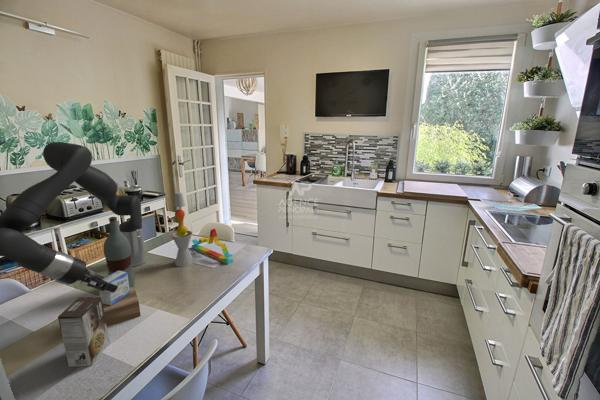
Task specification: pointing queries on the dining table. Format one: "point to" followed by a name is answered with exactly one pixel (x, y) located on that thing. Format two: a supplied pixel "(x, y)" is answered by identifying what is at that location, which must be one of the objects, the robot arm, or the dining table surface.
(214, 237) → the rainbow clothes hanger
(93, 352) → the coffee box
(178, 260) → the lava lamp
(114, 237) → the bottle
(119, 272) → the medicine box
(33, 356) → the dining table surface
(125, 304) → the walnut block
